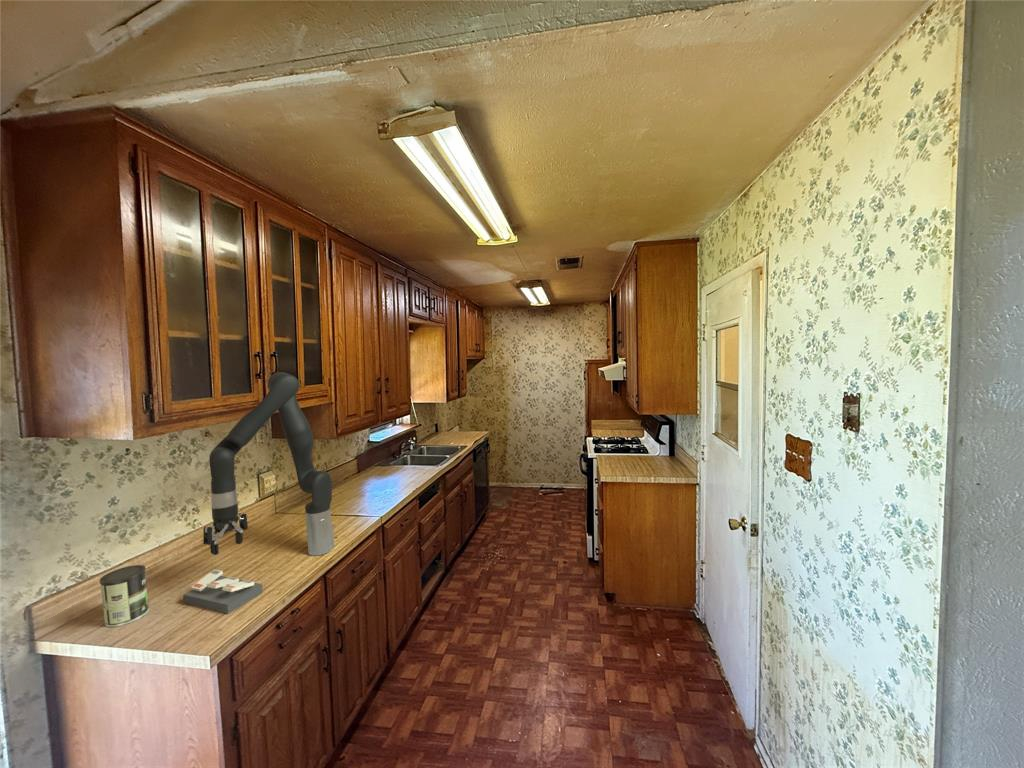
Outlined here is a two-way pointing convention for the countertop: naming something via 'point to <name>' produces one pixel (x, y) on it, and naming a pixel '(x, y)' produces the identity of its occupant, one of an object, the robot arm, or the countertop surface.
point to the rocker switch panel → (222, 597)
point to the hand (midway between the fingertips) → (227, 548)
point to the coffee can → (124, 595)
